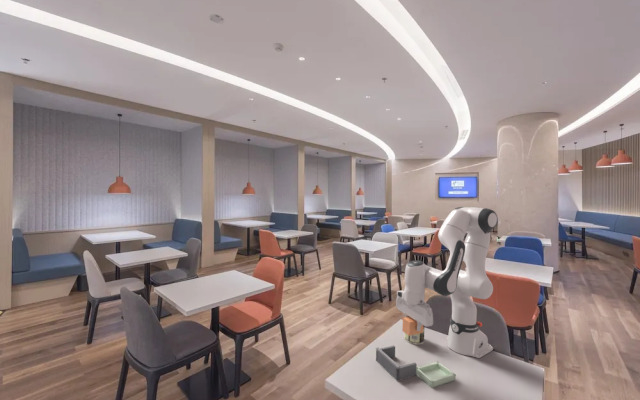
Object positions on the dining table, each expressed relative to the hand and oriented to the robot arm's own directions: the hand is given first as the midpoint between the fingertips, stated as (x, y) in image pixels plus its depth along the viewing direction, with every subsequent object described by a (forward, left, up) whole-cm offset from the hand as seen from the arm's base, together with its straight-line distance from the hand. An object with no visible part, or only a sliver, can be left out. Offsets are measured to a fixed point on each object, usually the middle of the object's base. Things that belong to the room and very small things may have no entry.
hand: (413, 327), depth 126 cm
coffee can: (-16, -16, -17) cm, 28 cm away
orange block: (0, 0, -2) cm, 2 cm away
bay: (+9, 0, -17) cm, 19 cm away
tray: (-3, +11, -17) cm, 20 cm away
